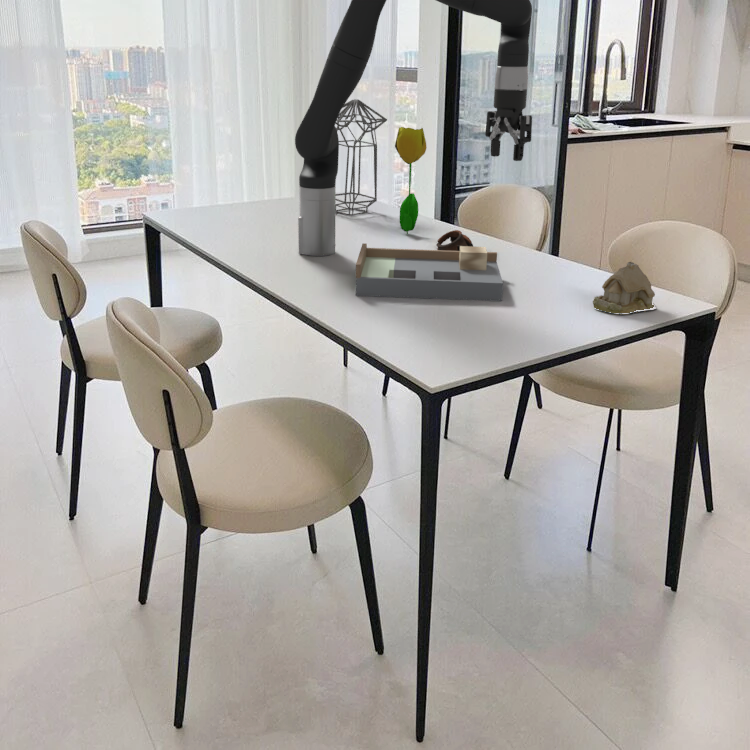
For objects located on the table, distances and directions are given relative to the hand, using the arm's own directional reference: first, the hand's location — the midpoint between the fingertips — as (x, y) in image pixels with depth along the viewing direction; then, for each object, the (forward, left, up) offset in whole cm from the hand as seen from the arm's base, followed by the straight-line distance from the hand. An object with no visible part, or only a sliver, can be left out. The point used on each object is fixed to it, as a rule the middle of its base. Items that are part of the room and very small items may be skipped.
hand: (506, 158), depth 202 cm
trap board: (-18, -21, -26) cm, 38 cm away
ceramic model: (+25, -32, -27) cm, 48 cm away
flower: (-24, +33, -27) cm, 49 cm away
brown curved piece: (-10, +7, -27) cm, 30 cm away
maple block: (-8, -17, -22) cm, 29 cm away
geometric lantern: (-42, +62, -27) cm, 80 cm away
